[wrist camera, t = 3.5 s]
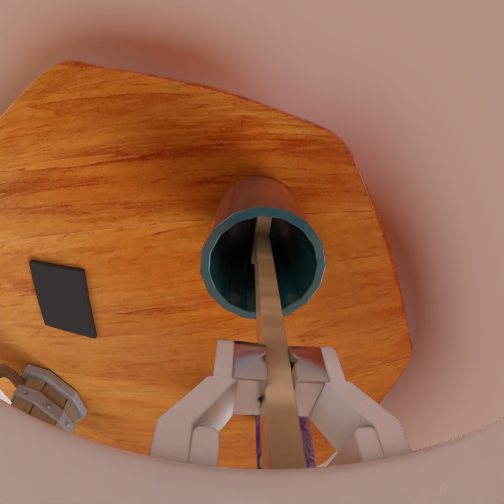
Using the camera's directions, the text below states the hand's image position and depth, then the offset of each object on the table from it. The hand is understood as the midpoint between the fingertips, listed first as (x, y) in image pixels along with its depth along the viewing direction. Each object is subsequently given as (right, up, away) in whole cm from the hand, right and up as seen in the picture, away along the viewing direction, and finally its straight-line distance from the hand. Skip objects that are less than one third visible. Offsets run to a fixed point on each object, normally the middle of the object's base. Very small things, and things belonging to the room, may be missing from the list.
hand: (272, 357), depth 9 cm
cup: (0, +7, +15) cm, 17 cm away
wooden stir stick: (0, +6, +14) cm, 15 cm away
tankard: (-37, -18, +26) cm, 48 cm away
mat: (-22, -2, +19) cm, 29 cm away
